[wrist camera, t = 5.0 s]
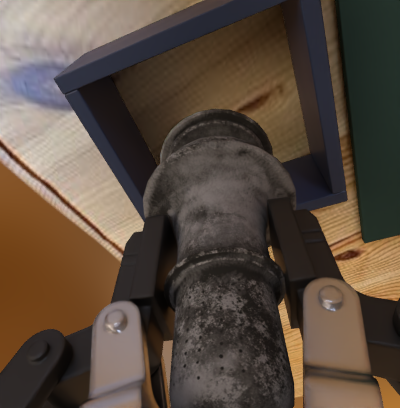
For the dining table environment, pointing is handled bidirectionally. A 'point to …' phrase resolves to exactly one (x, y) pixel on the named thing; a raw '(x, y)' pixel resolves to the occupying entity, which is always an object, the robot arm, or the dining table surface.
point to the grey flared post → (223, 262)
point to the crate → (185, 32)
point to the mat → (373, 109)
